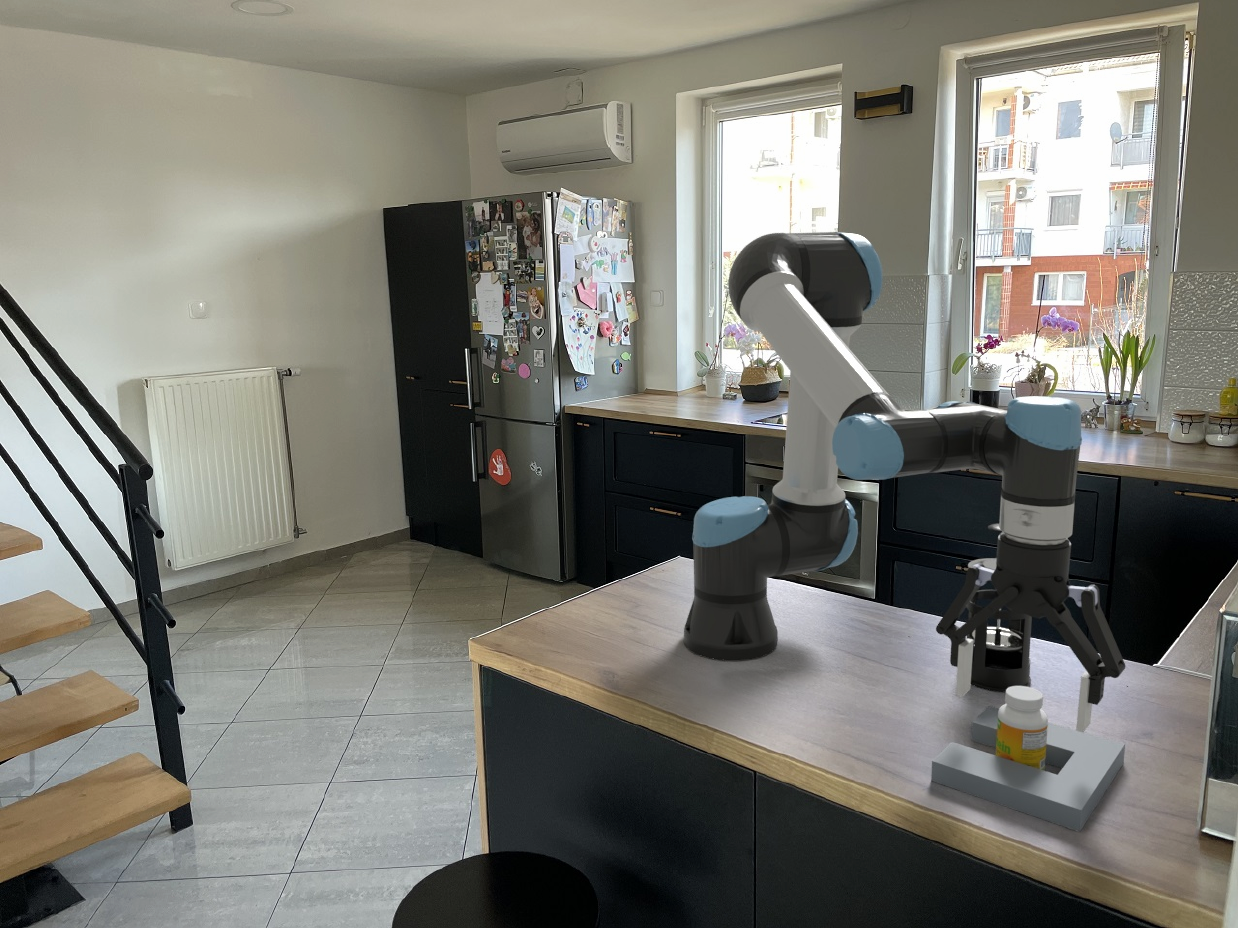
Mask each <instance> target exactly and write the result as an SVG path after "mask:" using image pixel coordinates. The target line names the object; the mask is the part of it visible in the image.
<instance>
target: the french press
mask: <svg viewBox="0 0 1238 928" xmlns="http://www.w3.org/2000/svg"><path fill="white" fill-rule="evenodd" d="M987 529H989V530H990V531H993V532H998V533H999V535H1000V534H1001V533H1002V531H1001V530H1000V528H999V523H992V524H990V525H988V526H987ZM996 560H997V557H995V558H993V557H991V558H990V557H989V558H978V559H974V560H971V561H969V562H968V564H967V569H969V568H970V567H972V566H973V565H975V564H976V563H982V564H983V565H984V567H985V568H988V569H991V570H994V571H995V569H996ZM998 596H999V594H998V592H997V591H996V589H981V590H977V592H976V593H975V595H974V596H973V598H972V599H971V601H970V602H969V603H968V605H967V606H966V609H967V621H969V620H970V619H971V618H972V617H973V616H975V615H976V614H977V613H978V612H980V611H981V610H982V609H983V608H985V607H986V606H982V605H978V604H977V600H982V599H983V600H985V599H986V600H987V599H988V600H989V599H992V600H994V599H995V598H997V597H998ZM1032 618H1033V617H1031V616H1029V615H1027V614H1016V613H1012V612H1011V610H1010V609H1009V610H1005V609H1003V610H1002V608H1001V609H1000V610H998V611H997V612H996V613H995V614H993V615H992V616H991V617H990V618H988V619H987V620H986V621H985V622H983V623H982V624H981V625H980V626H978V627H977V628H976V629H975V630H973V631H972V632H971V633H970V634H968V635H967V636H966V639H967V638H968V639H972V640H974V641H973V656H972V671H971V685H972V686H974V687H976V688H978V689H982V690H986V691H991V692H997V693H1006V689H1007V688H1009V687H1012V686H1026V687H1031V685H1032V684H1031V682H1032V679H1031V676H1030V675H1031V658H1030V653H1031V652H1030V651H1031V650H1030V649H1031V638H1032V637H1031V636H1032V635H1031V633H1032ZM989 619H994V620H997V622H996V623H997V624H996V626H993V625H988V623H989ZM1001 620H1002V621H1009V622H1008V628H1007V627H1003V626H1001Z"/></svg>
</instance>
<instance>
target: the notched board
mask: <svg viewBox="0 0 1238 928" xmlns="http://www.w3.org/2000/svg"><path fill="white" fill-rule="evenodd" d="M999 709H1000V707H999V708H998V707H995V706H991V705H987V706H986V708H985V709H984V710H982V712H980V714H978V716H977V717H975V718H974V719H973V720H972V721H971V735H970V736H971V738H970V741H971V742H975V743H979V744H982V745H986V746H988V747H991V748H995V749H996V740H997V723H998V711H999ZM1125 752H1126V743H1124V742H1121V741H1117V740H1113V739H1109V738H1106V737H1103V736H1099V735H1097V734H1091V733H1089V732H1085V731H1084V732H1083V733H1082V732H1079V731H1076V729H1074V728H1070V727H1067V726H1063V725H1060V724H1057V723H1052V722H1049V721H1048V728H1047V743H1046V759H1045V764H1047V765H1051V766H1053V767H1056V768H1060V767H1062V768H1061V770H1060V771H1059V772H1058V774H1056V773H1052V772H1050V771H1047V770H1040V769H1037V768H1034V767H1031V766H1027V765H1024V764H1021V763H1018V762H1015V761H1011V760H1008V759H1005V758H1002V757H999V756H996V754H995V755H994V754H992V753H988V752H985V751H982V750H980V749H979V750H978V749H975V748H972V747H969V746H967V745H963V744H960V743H956V742H953V741H951V742H950V743H949V744H948V745H946V747H945V748H944V749H943V750H942V751H941V752H940V753H938V755H936V756H935V757H934V758H933V759H932V761H931V775H930V777H931V778H930V781H931V782H934V783H937V784H940V785H943V786H946V787H949V788H951V789H954V790H957V791H960V792H962V793H966V794H969V795H971V796H975V797H978V798H980V799H983V800H986V801H989V802H990V803H991V802H993V804H998V805H1000V806H1004V807H1007V808H1010V809H1012V810H1014V811H1018V812H1021V813H1023V814H1027V815H1029V816H1032V817H1036V818H1038V819H1040V820H1044V821H1046V822H1050V823H1053V824H1054V825H1055V824H1056V825H1058V826H1061V827H1065V828H1067V829H1070V830H1073V831H1076V832H1081V831H1082V829H1083V827H1084V825H1086V822H1087V821H1088V819H1089V818H1090V817H1091V815H1092V813H1094V812H1093V811H1094V810H1095V809H1096V807H1097V805H1098V804H1099V802H1100V801H1101V799H1102V797H1103V796H1104V794H1105V793H1106V792H1107V790H1108V789H1109V786H1110V785H1111V784H1112V783H1113V780H1114V779H1115V777H1116V776H1117V774H1118V772H1119V771H1120V769H1121V768H1122V766H1123V765H1124V763H1125Z"/></svg>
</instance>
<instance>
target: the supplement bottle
mask: <svg viewBox="0 0 1238 928" xmlns="http://www.w3.org/2000/svg"><path fill="white" fill-rule="evenodd" d="M1004 699H1005V700H1004V703H1005V704H1002V705H1001V706H1000V707H999V711H998V723H997V740H996V748H995V756H999V757H1002V758H1005V759H1008V760H1011V761H1015V762H1018V763H1021V764H1024V765H1027V766H1031V767H1034V768H1037V769H1040V770H1044V771H1046V770H1045V768H1046V763H1045V759H1046V743H1047V728H1048V722H1049V718H1048V715H1047V714H1046V712H1045V711H1044V710H1043V706H1044V705H1043V704H1044V701H1043V700H1044V696H1043V693H1042V692H1041V691H1040V690H1038V689H1036V688H1034V687H1031V686H1029V687H1026V686H1012V687H1009V688H1007V689H1006V692H1005V697H1004Z"/></svg>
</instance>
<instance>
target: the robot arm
mask: <svg viewBox="0 0 1238 928" xmlns="http://www.w3.org/2000/svg"><path fill="white" fill-rule="evenodd" d="M874 248H875V247H874V246H873V244H872V243H871V242H870V241H869V240H868V239H867V238H865V237H864V236H862V235H860V234H856V233H852V232H851V233H850V232H849V233H848V232H839V231H827V232H826V231H825V232H824V231H823V232H822V231H821V232H791V233H790V232H787V233H786V232H773V233H768V234H764V235H762V236H761V235H760V236H758V237H756V238H755V239H753V240H752V241H751V242H749V243H748V244H747V245H745V246H744V247H743V248H742V250H741V251H740V252H739V253H738V254H737V256H736V257H735V259H734V260H733V263H732V265H731V268H730V270H729V276H728V283H727V284H728V285H727V286H728V288H727V289H728V294H729V299H730V302H731V305H732V307H733V309H734V311H735V312H736V314H737V316H738V317H739V318H740V320H741V321H742V322H743V324H744V326H746V327H747V328H748V329H750V330H751V331H755V332H757V333H758V332H759V333H761V335H762V336H763V337H764V339H765V340H766V341H767V342H768V344H769V345H770V347H771V348H772V349H773V350H774V352H775V353H776V354H777V355H778V357H779V358H780V360H781V361H782V362H783V363H784V365H785V366H786V367H787V368H788V370H789V373H790V374H789V375H790V376H789V383H788V384H789V388H788V400H787V412H786V413H787V416H786V428H785V429H786V430H785V441H784V442H785V445H784V456H783V457H784V458H783V469H782V479H781V480H780V481H778V482H777V483H776V484H775V485H774V486H773V487H772V492H771V503H770V504H769V503H768V504H767V502H766V501H765V500H764V499H763V498H761V497H756V496H749V495H744V496H731V497H723V498H719V499H716V500H713V501H710V502H707V503H706V504H704V505H702V506H701V507H699V509H698V510H697V511H696V513H695V515H694V517H693V530H692V531H693V532H692V537H691V539H692V544H693V545H692V546H693V548H692V549H693V550H692V551H693V585H694V586H693V589H694V590H693V595H694V596H693V599H692V603H691V606H690V609H689V612H688V615H687V618H686V622H685V625H684V627H683V644H684V647H686V649H687V650H689V651H690V652H691V653H694V654H695V655H698V656H700V657H704V658H708V659H712V660H719V661H732V662H733V661H736V662H737V661H749V660H754V659H759V658H762V657H765V656H768V655H770V654H771V653H773V652H774V651H775V650H776V649H777V647H778V643H779V641H778V632H779V631H778V629H777V626H776V623H775V619H774V617H773V612H772V610H771V607H770V603H769V601H768V595H767V594H768V589H767V588H768V586H767V585H768V578H772V577H780V576H785V575H794V574H800V573H807V572H820V571H824V570H826V569H829V568H834V567H837V566H839V565H842V564H843V563H845V562H846V561H847V560H848V559H849V558H850V557H851V555H852V553H853V551H854V550H855V547H856V544H857V540H858V533H859V531H858V530H859V526H858V520H857V519H855V516H856V511H855V509H854V507H853V505H852V504H851V503H850V501H848V500H847V499H846V493H845V491H844V490H843V489H842V488H841V486H840V485H839V484H838V474H839V471H841V473H842V474H843V475H845V476H846V477H847V478H850V479H852V480H856V481H863V480H865V481H866V480H875V481H879V480H880V481H881V480H883V481H884V480H887V479H893V478H898V477H899V478H900V477H906V476H908V477H909V476H915V475H921V474H933V473H943V472H950V471H951V472H952V471H959V470H969V469H973V470H980V471H983V472H986V473H991V474H994V475H998V476H1001V477H1002V479H1001V480H1002V481H1001V490H1000V491H1001V492H1000V506H999V507H1000V508H999V523H998V524H999V528H1000V530H1001V531H1002V533H1001V534H1000V533H999V535H998V537H997V547H996V549H997V550H996V558H997V560H996V569H995V571H994V570H991V569H988V568H985V567H984V565H983V564H982V563H976V564H975V565H973V566H972V567H970V568H967V570H966V575H965V581H964V584H963V586H962V587H961V588H960V590H959V592H958V594H956V596H955V598H954V599H953V601H952V602H951V604H950V606H949V607H948V609H947V610H946V611H945V613H944V615H943V616H942V618H941V619H940V621H939V622H938V624H937V625H936V627H935V632H936V633H937V634H939V635H944V636H945V637H947V638H948V639H949V640H950V656H949V657H950V658H949V661H950V665H951V666H952V667H955V668H956V683H955V684H956V685H955V696H957V697H960V698H962V697H963V696H964V695H966V694H967V693H968V692H969V691H970V690H971V671H972V656H973V641H974V640H972V639H968V638H967V635H968V634H970V633H971V632H972V631H973V630H975V629H976V628H977V627H978V626H980V625H981V624H982V623H983V622H985V621H986V620H987V619H988V620H989V619H991V618H990V617H991V616H992V615H993V614H995V613H996V612H997V611H998V610H1000V609H1001V610H1002V608H1003V607H1006V608H1007V609H1008V610H1009V611H1010V610H1011V612H1012V613H1016V614H1027V615H1029V616H1031V617H1032V618H1033V619H1038V620H1040V619H1041V618H1046V619H1047V621H1048V622H1049V624H1050V625H1051V626H1052V627H1053V628H1055V629H1056V630H1057V632H1058V633H1059V635H1060V636H1061V637H1062V638H1063V640H1064V642H1065V643H1066V644H1067V647H1069V648H1070V650H1071V651H1072V653H1073V654H1074V655H1075V657H1076V658H1077V659H1078V661H1079V662H1080V664H1081V665H1082V666H1083V668H1084V669H1085V672H1083V674H1082V675H1081V676H1080V687H1079V694H1078V695H1079V696H1078V706H1077V714H1076V715H1077V716H1076V717H1077V718H1076V726H1075V727H1076V728H1075V730H1076V731H1079V732H1082V733H1083V732H1085V731H1087V729H1088V728H1089V726H1090V725H1091V718H1092V711H1093V710H1092V709H1093V705H1096V706H1098V705H1099V704H1100V702H1101V701H1102V699H1103V697H1104V692H1105V691H1104V690H1105V680H1106V678H1113V679H1117V678H1119V677H1120V676H1121V675H1122V674H1123V672H1124V671H1125V669H1126V662H1125V660H1124V658H1123V656H1122V654H1121V651H1120V649H1119V647H1118V645H1117V642H1116V640H1115V638H1114V636H1113V632H1112V631H1111V628H1110V626H1109V623H1108V621H1107V619H1106V617H1105V614H1104V611H1103V610H1102V607H1101V603H1100V599H1101V598H1100V588H1099V587H1098V586H1097V585H1095V584H1089V585H1088V586H1086V587H1085V586H1075V585H1072V584H1071V583H1070V580H1069V572H1070V561H1071V552H1072V551H1071V550H1072V543H1071V541H1070V540H1069V539H1068V538H1070V537H1071V536H1072V535H1073V531H1074V530H1073V527H1074V526H1073V525H1074V514H1075V499H1076V485H1077V477H1078V476H1077V475H1078V467H1079V460H1080V453H1081V451H1080V450H1081V445H1082V441H1083V438H1082V410H1081V407H1080V405H1079V404H1078V403H1077V402H1076V401H1074V400H1072V399H1069V398H1064V397H1050V396H1045V395H1044V396H1041V395H1038V396H1037V395H1035V396H1032V395H1031V396H1029V395H1027V396H1019V397H1013V399H1011V400H1009V402H1008V404H1007V409H1002V408H997V407H992V406H987V405H982V404H980V403H979V404H978V403H976V402H972V401H953V400H952V401H946V402H943V403H941V404H939V405H938V406H937V407H935V408H929V409H928V408H927V409H917V410H916V409H914V410H905V409H903V408H901V406H900V405H899V404H898V402H897V401H896V400H894V399H893V398H892V396H891V395H890V394H889V393H888V392H887V390H886V389H885V388H884V387H883V386H882V385H881V384H880V382H878V380H877V379H876V378H875V377H874V375H872V373H871V372H869V371H870V370H868V369H867V368H866V366H865V365H864V364H863V363H862V362H861V360H859V358H858V357H857V356H856V355H855V354H854V352H853V351H852V350H851V349H850V342H851V336H852V335H853V334H854V333H855V332H856V331H858V329H860V327H862V321H863V312H866V311H868V310H869V309H871V308H873V307H874V306H875V304H877V300H878V299H879V298H880V295H881V294H882V293H881V292H882V288H883V282H884V281H883V268H882V263H881V261H880V258H879V255H878V253H877V251H875V249H874ZM988 581H991V584H992V585H993V588H994V590H996V591H997V592H998V594H999V596H998V597H997V598H995V599H992V600H991V602H989V603H988V604H987V605H986V606H984V607H985V608H983V609H982V610H981V611H980V612H978V613H977V614H976V615H975V616H973V617H972V618H971V619H970V620H969V621H968V620H966V622H965V623H964V624H962V625H961V626H957V625H956V623H957V621H958V620H959V618H960V617H961V615H962V614H963V612H964V611H965V609H967V607H966V606H967V605H968V603H969V602H970V601H971V599H972V598H973V596H974V595H975V593H976V592H977V591H979V589H980V587H982V586H984V585H985V584H987V583H988ZM1068 598H1071V599H1074V601H1075V605H1077V606H1078V607H1079V608H1081V612H1082V615H1083V618H1084V621H1085V623H1086V625H1087V629H1088V630H1089V633H1090V635H1091V637H1092V639H1093V643H1094V644H1095V646H1096V648H1097V650H1096V649H1095V648H1094V645H1093V644H1092V643H1091V641H1090V640H1089V639H1088V637H1087V636H1086V634H1084V632H1083V630H1082V629H1081V628H1080V626H1079V625H1078V624H1077V622H1076V621H1075V619H1074V617H1072V613H1071V611H1070V609H1069V608H1068V607H1067V606H1066V604H1065V603H1064V602H1065V601H1066V600H1067V599H1068Z"/></svg>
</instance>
